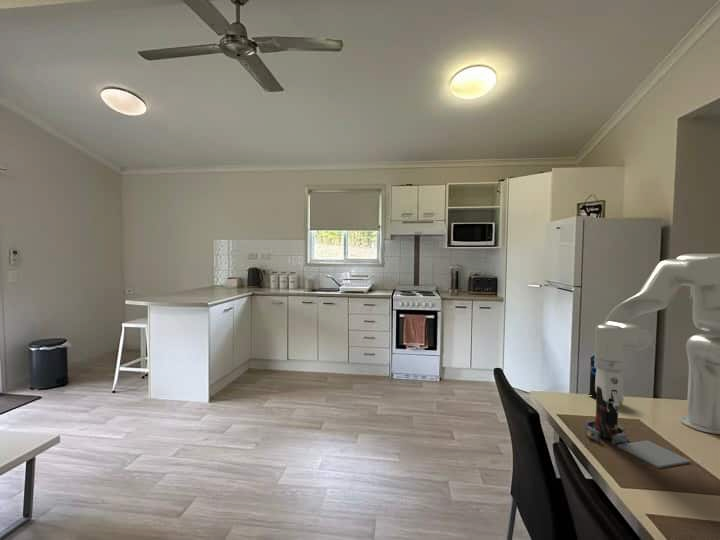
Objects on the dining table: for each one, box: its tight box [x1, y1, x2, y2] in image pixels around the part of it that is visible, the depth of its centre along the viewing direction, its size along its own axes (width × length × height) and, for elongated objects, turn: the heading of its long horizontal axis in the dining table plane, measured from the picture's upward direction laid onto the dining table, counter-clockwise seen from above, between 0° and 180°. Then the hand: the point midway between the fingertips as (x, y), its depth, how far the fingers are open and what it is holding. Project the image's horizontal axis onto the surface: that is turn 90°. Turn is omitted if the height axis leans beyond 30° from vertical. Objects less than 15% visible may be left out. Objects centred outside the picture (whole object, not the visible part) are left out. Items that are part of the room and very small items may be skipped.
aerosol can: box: [588, 354, 597, 400], centre depth 155 cm, size 8×8×20 cm
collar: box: [584, 419, 628, 447], centre depth 120 cm, size 13×11×3 cm
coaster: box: [616, 439, 691, 469], centre depth 110 cm, size 12×12×1 cm
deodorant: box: [595, 386, 619, 440], centre depth 120 cm, size 6×6×15 cm
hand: (606, 418), depth 120 cm, fingers closed on deodorant, 5 cm apart
